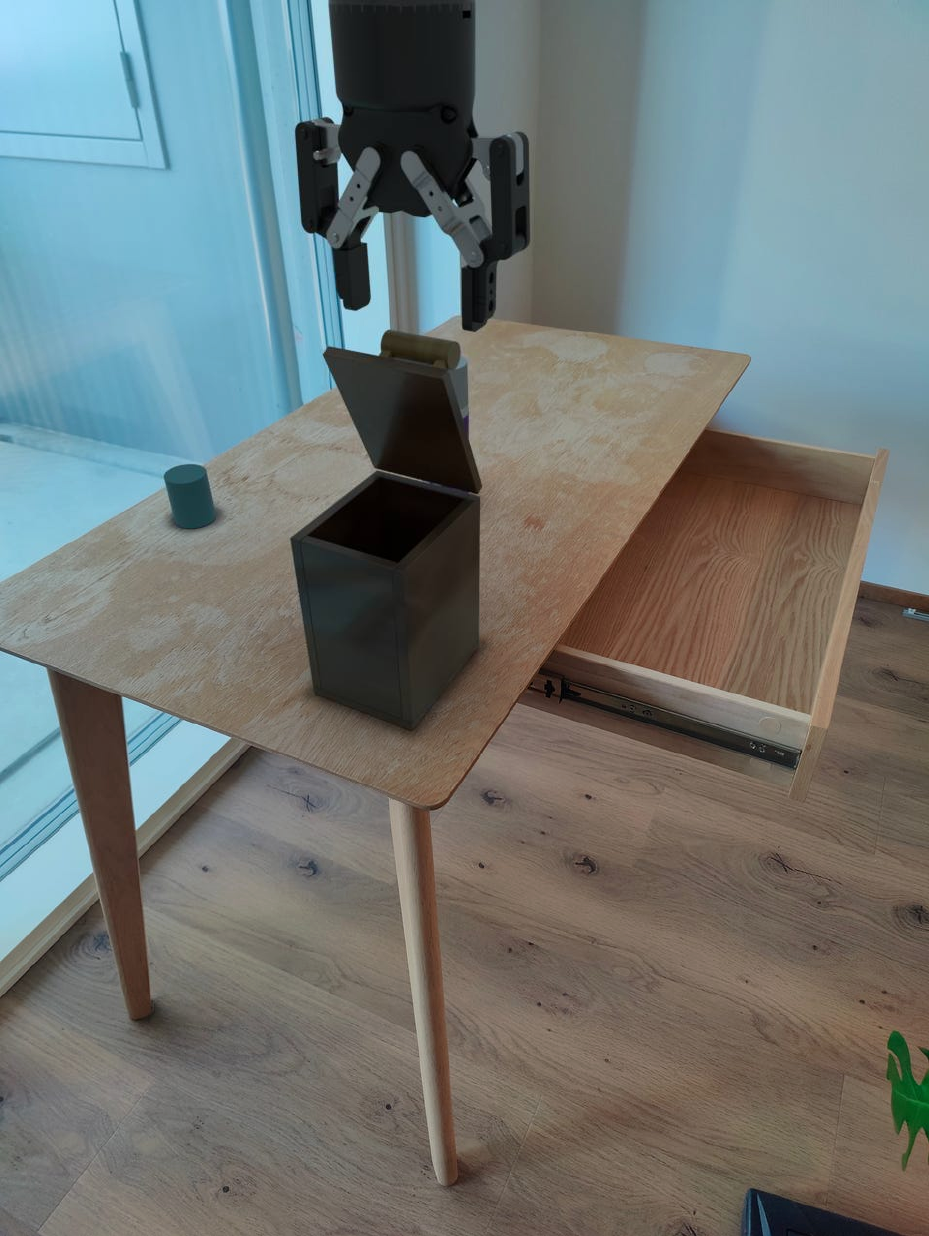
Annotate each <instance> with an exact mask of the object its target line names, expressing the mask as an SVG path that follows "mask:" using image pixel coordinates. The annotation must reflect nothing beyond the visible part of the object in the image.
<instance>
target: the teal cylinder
mask: <svg viewBox="0 0 929 1236" xmlns="http://www.w3.org/2000/svg"><path fill="white" fill-rule="evenodd" d="M163 480H164V484H165V488H166V489H165V490H166V493H167V496H168V500H169V501H168V502H169V504H170V508H171V512H172V516H173V520H174V523H175V525H176V526H178V527H180V528H182V529H189V530H190V529H191V530H192V529H199V528H203V527H205V526H209V525H210V524H212V523H213V522H214V521H215V520H216V518H217V512H216V508H215V504H214V500H213V499H214V498H213V494H212V489H211V484H210V480H209V476H208V471H207V469H206V467H205V466H203V465H200V464H196V463H185V464H184V463H183V464H179V465H176V466H173V467H171V468H169V469H168V470H167V471H165V472H164V474H163Z"/></svg>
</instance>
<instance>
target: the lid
mask: <svg viewBox="0 0 929 1236" xmlns="http://www.w3.org/2000/svg"><path fill="white" fill-rule="evenodd" d="M461 349H462V348H461V344H460V343H459V342H458V341H455V340H451V339H446V338H439V337H433V336H429V335H423V334H417V333H411V332H406V331H400V330H395V329H387V330H385V331H384V332H383V335H382V336H381V340H380V353H379V354H378V355H377V354H371V353H367V352H361V351H357V350H350V349H346V348H340V347H335V346H330V345H328V346H327V347H326V349H325V350H324V352H323V353H322V357H323V359H324V361H325V364H326V365H327V368H328V370H329V372H330V374H331V377H332V379H333V381H334V383H335V385H336V388H337V390H338V392H339V395H340V396H341V399H342V401H343V403H344V405H345V408H346V410H347V411H348V414H349V416H350V418H351V421H352V423H353V425H354V427H355V429H356V431H357V433H358V437H359V438H360V440H361V443H362V444H363V445H362V446H363V447H364V449H365V451H366V453H367V455H368V456H367V457H368V458H369V460H370V462H371V464H372V466H373V469H376V470H378V471H382V472H386V473H390V474H394V475H398V476H402V477H406V478H410V479H414V480H418V481H422V480H423V481H427V482H430V483H434V484H438V485H442V486H446V487H450V488H454V489H458V490H462V491H466V492H469V494H473V495H479V494H480V492H481V490H482V488H483V482H482V480H481V479H482V478H481V477H480V473H479V470H478V465H477V463H476V459H475V456H474V455H475V454H474V452H473V449H472V445H471V441H470V437H469V438H468V435H467V431H466V428H465V424H464V421H463V418H462V414H461V411H460V407H459V404H458V400H457V397H456V393H455V390H454V387H453V383H452V380H451V376H450V373H449V370H451V371H453V370H455V369H456V367H457V366H458V364H459V361H460V356H462V351H461Z"/></svg>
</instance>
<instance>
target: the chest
mask: <svg viewBox="0 0 929 1236" xmlns="http://www.w3.org/2000/svg"><path fill="white" fill-rule="evenodd" d="M289 541H290V546H291V547H290V548H291V552H292V559H293V566H294V572H295V579H296V585H297V586H296V587H297V592H298V599H299V605H300V611H301V612H300V613H301V618H302V622H303V623H302V624H303V631H304V637H305V645H306V650H307V656H308V662H309V669H310V675H311V682H312V689H313V693H314V695H318V696H320V697H323V698H326V699H328V700H331V701H333V702H335V703H338V704H341V705H344V706H345V707H346V706H347V707H348V708H351V709H354V710H357V711H359V712H362V713H365V714H367V715H369V716H372V717H375V718H378V719H380V720H383V721H386V722H388V723H390V724H393V725H395V726H398V727H401V728H403V729H406V730H409V731H411V732H412V731H414V729H415V728H416V727H417V726H418V724H419V723H420V722H421V721H422V720H423V718H424V717H425V715H426V714H428V712H429V711H430V709H431V708H432V707H433V706H434V704H435V703H436V702H437V701H438V699H439V698H440V697H441V696H442V694H443V693H444V692H445V690H446V689H447V688H448V687H449V686H450V684H451V683H452V682H453V680H454V679H455V678H456V677H457V675H458V674H459V673H460V672H461V670H462V669H463V668H464V666H466V664H467V663H468V662H469V660H470V659H471V658H472V657H473V656H474V654H475V653H476V651H477V650H478V649H479V647H480V572H481V571H480V568H481V567H480V564H481V563H480V561H481V559H480V558H481V557H480V555H481V553H480V552H481V496H480V495H477V494H474V493H469V494H468V493H465V492H461V491H457V490H453V489H449V488H445V487H441V486H437V485H433V484H429V483H425V482H422V480H418V479H414V478H410V477H407V476H403V475H399V474H395V473H391V472H387V471H383V470H379V469H376V470H375V471H374V472H372V474H370V475H369V476H368V477H366V478H365V479H364V480H363V481H361V482H360V483H358V484H357V485H356V486H355V487H353V488H352V489H351V490H349V491H348V492H347V493H346V494H344V495H343V496H342V497H341V498H340V499H337V501H335V502H334V503H333V504H331V505H330V506H329V507H328V508H326V509H325V510H324V511H323V512H321V513H320V514H319V515H318V516H316V517H315V518H314V519H312V520H311V521H310V522H309V523H307V524H306V525H305V526H304V527H302V528H301V529H300V530H299V531H297V532H296V533H295V534H293V535H292V536H291V537H290V538H289Z"/></svg>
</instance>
